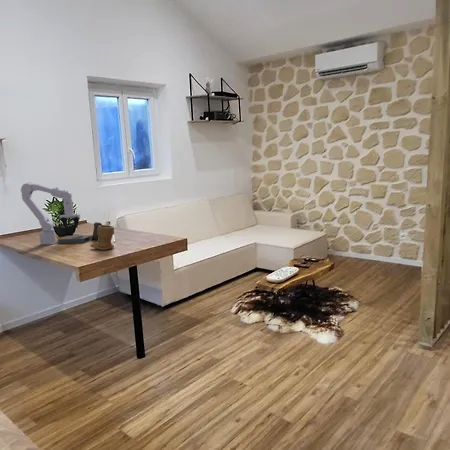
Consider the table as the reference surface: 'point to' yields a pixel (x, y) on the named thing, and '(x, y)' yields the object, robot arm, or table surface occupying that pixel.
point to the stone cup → (104, 237)
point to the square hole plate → (75, 239)
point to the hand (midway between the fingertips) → (71, 228)
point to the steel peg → (77, 235)
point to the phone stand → (95, 232)
